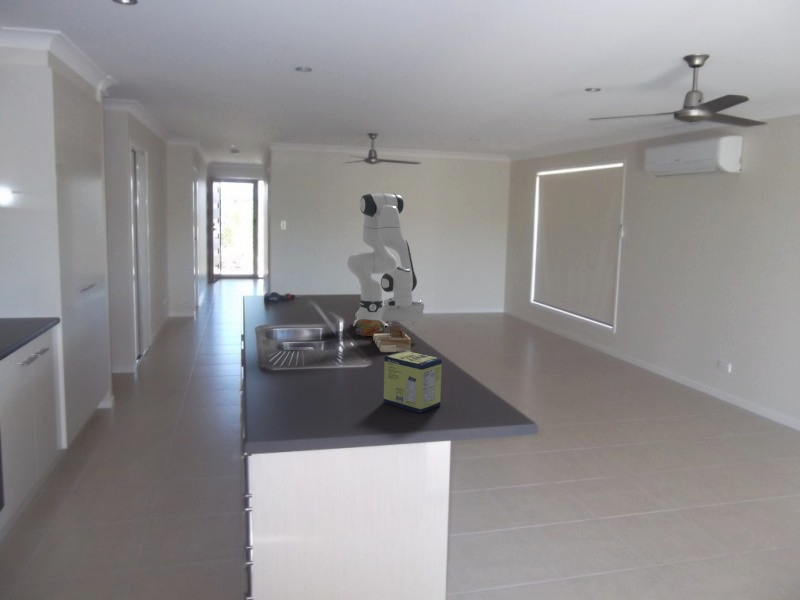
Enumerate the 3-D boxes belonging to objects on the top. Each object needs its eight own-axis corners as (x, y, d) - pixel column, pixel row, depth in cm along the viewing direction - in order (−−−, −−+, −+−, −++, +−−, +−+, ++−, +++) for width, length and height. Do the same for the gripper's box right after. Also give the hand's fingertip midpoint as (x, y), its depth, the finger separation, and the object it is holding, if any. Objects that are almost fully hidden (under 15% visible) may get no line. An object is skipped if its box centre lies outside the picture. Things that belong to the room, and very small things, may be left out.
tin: (354, 335, 287) (354, 318, 285) (356, 334, 290) (356, 317, 288) (383, 338, 282) (383, 321, 281) (385, 337, 285) (385, 320, 284)
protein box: (402, 395, 195) (404, 349, 192) (441, 406, 185) (443, 358, 183) (382, 402, 187) (383, 355, 184) (421, 414, 177) (422, 364, 175)
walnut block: (389, 335, 275) (390, 325, 274) (399, 335, 276) (399, 325, 275) (391, 337, 271) (391, 327, 270) (400, 337, 272) (401, 327, 271)
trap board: (373, 340, 277) (373, 328, 276) (400, 339, 280) (400, 328, 279) (381, 352, 254) (381, 339, 253) (410, 351, 256) (411, 339, 256)
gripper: (422, 300, 282) (421, 328, 284) (380, 300, 278) (380, 329, 280) (425, 302, 276) (424, 331, 278) (382, 302, 272) (382, 331, 274)
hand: (401, 330), depth 279 cm, fingers open, 8 cm apart
